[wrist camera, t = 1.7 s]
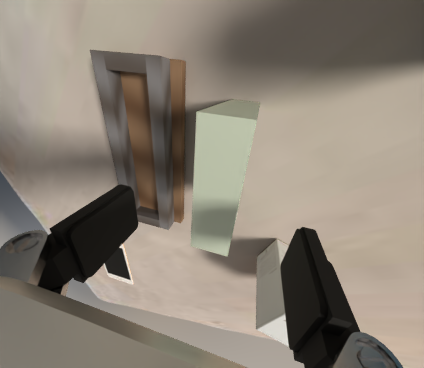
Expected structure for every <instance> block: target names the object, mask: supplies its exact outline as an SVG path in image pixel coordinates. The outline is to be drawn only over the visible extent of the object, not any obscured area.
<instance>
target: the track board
mask: <svg viewBox="0 0 424 368" xmlns="http://www.w3.org/2000/svg"><path fill="white" fill-rule="evenodd" d="M90 53H91V58H92V62H93V67H94V72H95V76H96V81H97V86H98V90H99V95H100V100H101V104H102V109H103V114H104V118H105V123H106V128H107V132H108V137H109V142H110V146H111V151H112V156H113V160H114V165H115V170H116V174H117V179H118V184H119V185H120V184H122V185H127V186H130V187H131V188H132V190H133V191H134V197H135V204H136V211H137V218H138V222H142V223H145V224H149V225H153V226H156V227H160V228H164V229H167V230H169V228H170V227H171V225H172V224H173V222H178V223H181V222H182V221H183V219H184V154H185V72H186V62H185V61H182V60H175V59H168V58H165V57H162V56H156V55H145V54H133V53H121V52H109V51H97V50H90Z"/></svg>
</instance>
